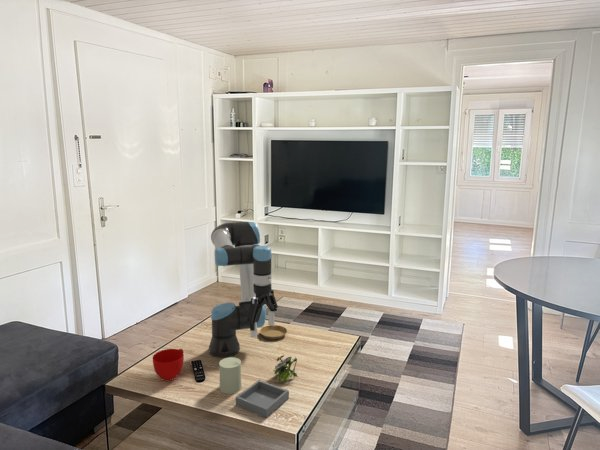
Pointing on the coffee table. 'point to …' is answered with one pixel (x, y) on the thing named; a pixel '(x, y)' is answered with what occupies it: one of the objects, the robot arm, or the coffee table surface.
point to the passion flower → (282, 370)
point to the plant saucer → (273, 332)
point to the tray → (262, 398)
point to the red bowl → (168, 363)
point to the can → (230, 375)
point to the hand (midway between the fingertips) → (262, 331)
